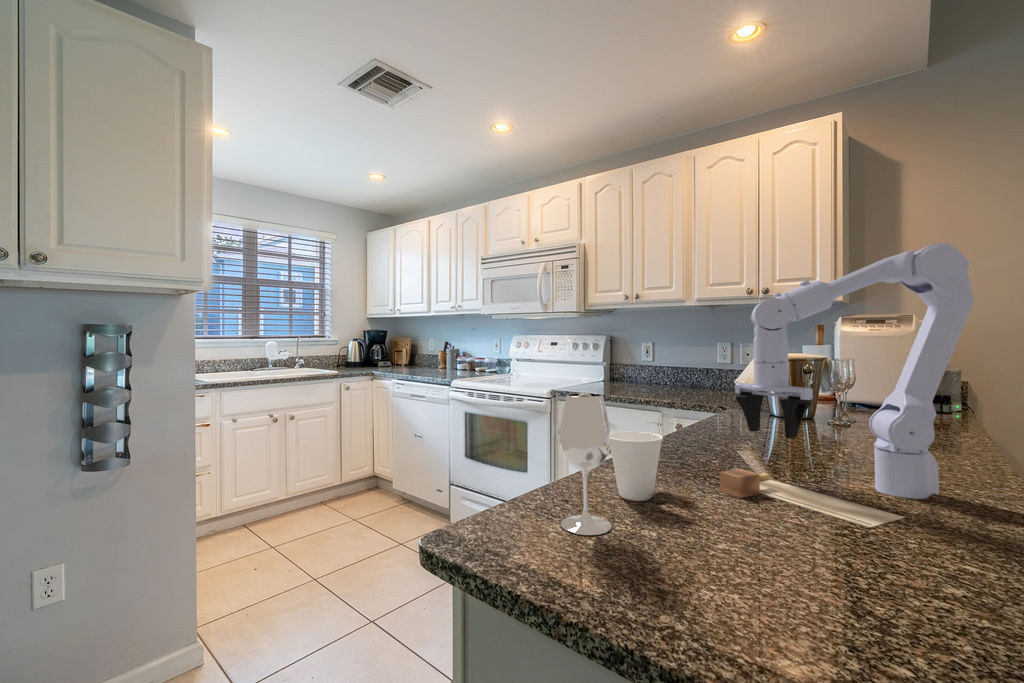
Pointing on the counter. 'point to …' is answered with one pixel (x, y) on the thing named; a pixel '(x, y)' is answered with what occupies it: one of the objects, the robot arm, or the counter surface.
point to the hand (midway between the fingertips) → (772, 434)
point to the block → (741, 482)
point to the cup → (635, 463)
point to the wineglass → (585, 451)
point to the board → (827, 504)
